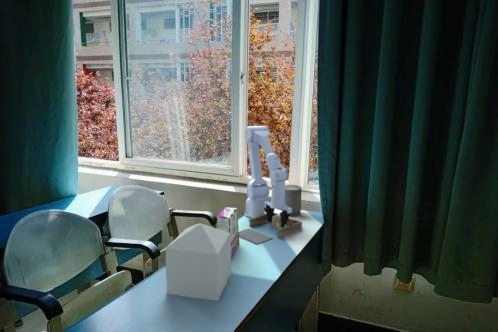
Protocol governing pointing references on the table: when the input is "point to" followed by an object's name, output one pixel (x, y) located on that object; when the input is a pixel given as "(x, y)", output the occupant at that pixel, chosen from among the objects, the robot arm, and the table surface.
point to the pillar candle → (293, 198)
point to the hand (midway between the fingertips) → (276, 224)
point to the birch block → (276, 221)
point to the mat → (253, 236)
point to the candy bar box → (229, 225)
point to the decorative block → (199, 262)
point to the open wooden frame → (291, 228)
